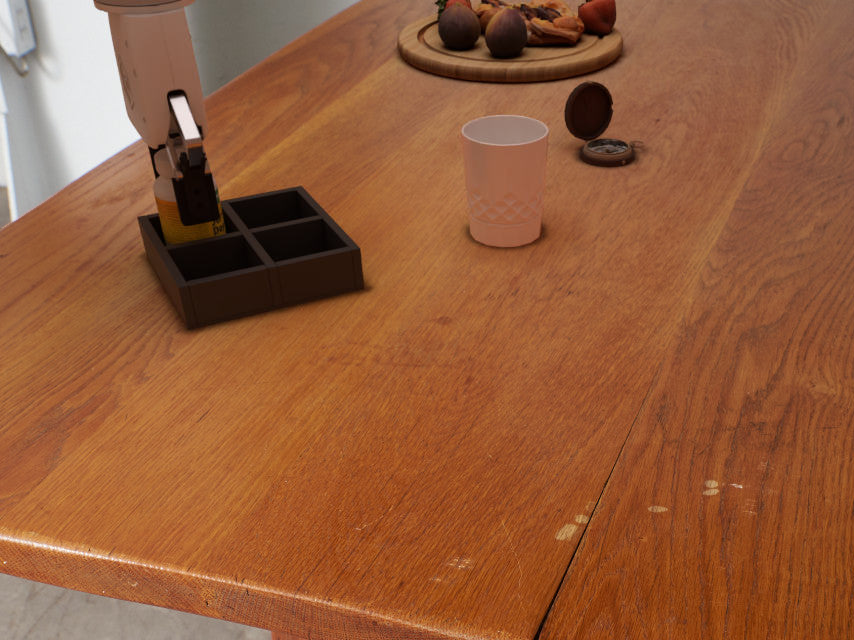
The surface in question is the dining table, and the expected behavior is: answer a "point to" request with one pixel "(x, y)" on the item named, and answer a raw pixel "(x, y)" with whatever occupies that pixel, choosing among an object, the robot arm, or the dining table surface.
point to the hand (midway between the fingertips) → (188, 202)
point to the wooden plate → (513, 40)
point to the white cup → (505, 178)
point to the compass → (596, 126)
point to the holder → (256, 259)
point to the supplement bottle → (169, 209)
